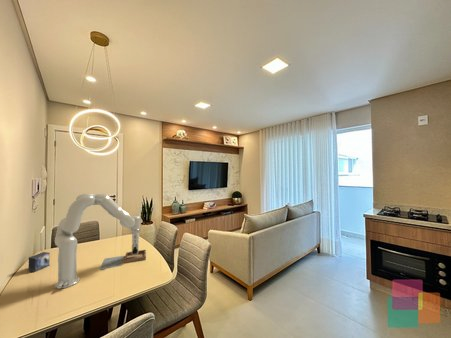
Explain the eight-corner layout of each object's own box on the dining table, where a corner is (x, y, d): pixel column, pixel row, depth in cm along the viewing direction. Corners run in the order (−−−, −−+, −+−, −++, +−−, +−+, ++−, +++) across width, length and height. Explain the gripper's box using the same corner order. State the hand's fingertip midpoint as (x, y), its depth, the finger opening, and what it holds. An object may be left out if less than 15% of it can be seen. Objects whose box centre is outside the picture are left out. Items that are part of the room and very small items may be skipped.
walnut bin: (145, 260, 162) (145, 256, 162) (124, 263, 156) (124, 260, 156) (146, 252, 177) (145, 249, 177) (126, 255, 171) (126, 252, 171)
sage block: (138, 253, 165) (138, 245, 165) (131, 254, 163) (131, 246, 163) (138, 251, 170) (138, 243, 170) (132, 252, 168) (132, 244, 168)
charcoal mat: (120, 266, 152) (120, 266, 152) (99, 270, 147) (99, 269, 147) (123, 256, 170) (123, 255, 171) (105, 259, 165) (105, 258, 165)
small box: (34, 272, 144) (34, 258, 144) (27, 271, 146) (27, 257, 146) (50, 265, 155) (50, 252, 155) (43, 264, 156) (43, 251, 156)
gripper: (139, 233, 160) (139, 255, 160) (140, 227, 176) (140, 248, 176) (129, 234, 158) (129, 256, 157) (131, 228, 173) (131, 249, 173)
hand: (135, 252), depth 166 cm, fingers closed on sage block, 5 cm apart
